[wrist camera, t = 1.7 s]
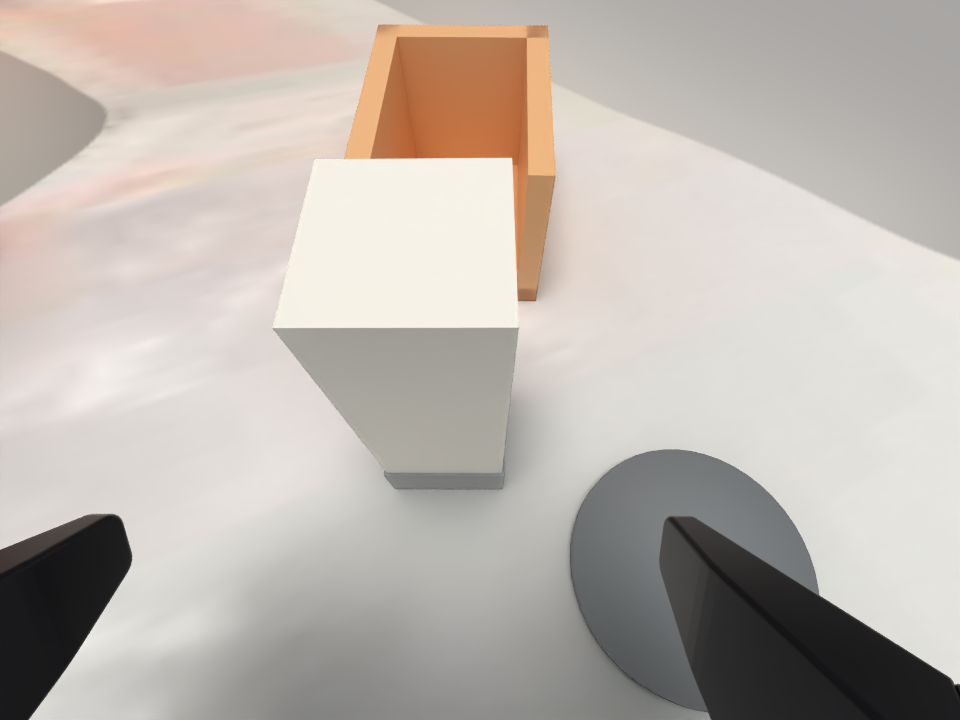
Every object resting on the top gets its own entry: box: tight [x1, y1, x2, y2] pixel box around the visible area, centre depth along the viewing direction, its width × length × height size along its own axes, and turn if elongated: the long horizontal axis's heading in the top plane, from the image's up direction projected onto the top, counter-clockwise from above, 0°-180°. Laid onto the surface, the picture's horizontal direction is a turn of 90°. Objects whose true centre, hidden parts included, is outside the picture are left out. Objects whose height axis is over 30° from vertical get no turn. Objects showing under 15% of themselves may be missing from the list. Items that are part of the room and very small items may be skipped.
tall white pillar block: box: [273, 158, 519, 489], centre depth 15 cm, size 5×5×13 cm
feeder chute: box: [344, 25, 555, 301], centre depth 23 cm, size 10×8×8 cm
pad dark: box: [570, 450, 819, 712], centre depth 18 cm, size 9×9×1 cm
